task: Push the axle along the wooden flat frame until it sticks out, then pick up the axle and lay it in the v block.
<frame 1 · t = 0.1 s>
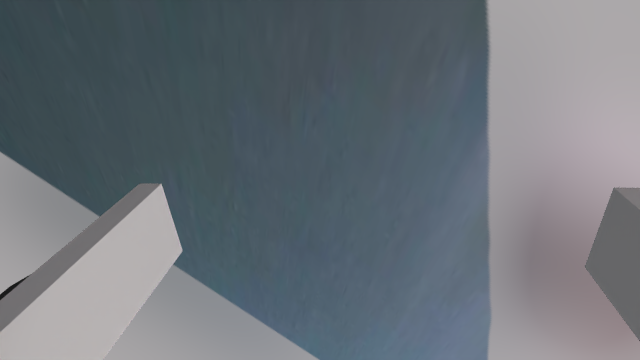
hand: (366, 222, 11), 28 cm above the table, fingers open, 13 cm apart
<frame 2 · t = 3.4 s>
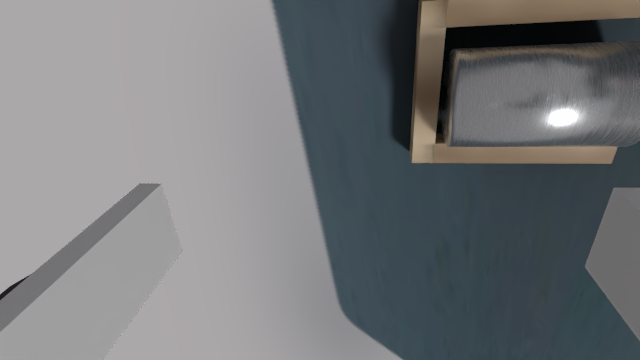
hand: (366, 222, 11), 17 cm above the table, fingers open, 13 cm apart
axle: (519, 79, 24), on the table, tilted 7°
wooden flat frame: (512, 80, 24), on the table
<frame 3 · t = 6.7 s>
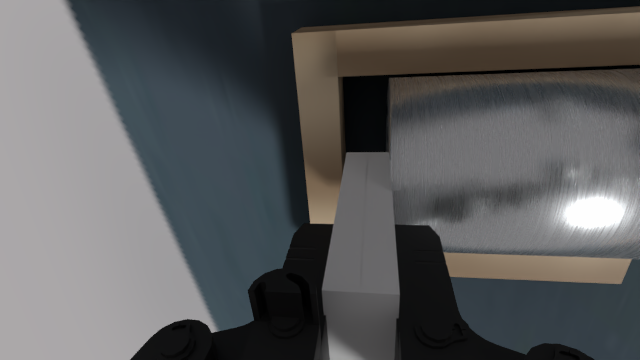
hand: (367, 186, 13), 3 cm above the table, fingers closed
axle: (507, 152, 15), on the table, tilted 16°, touching gripper
wooden flat frame: (462, 150, 15), on the table
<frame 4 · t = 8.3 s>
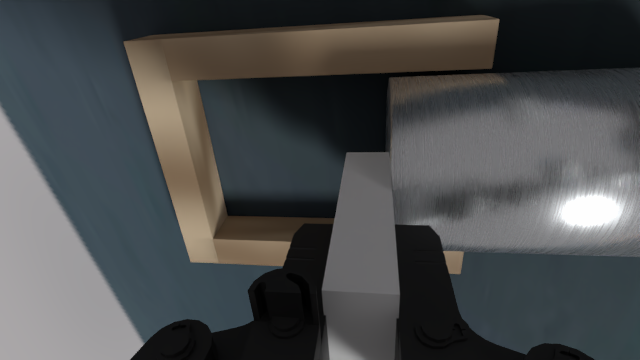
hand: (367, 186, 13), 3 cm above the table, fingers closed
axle: (506, 151, 15), on the table, tilted 16°, touching gripper
wooden flat frame: (315, 149, 16), on the table
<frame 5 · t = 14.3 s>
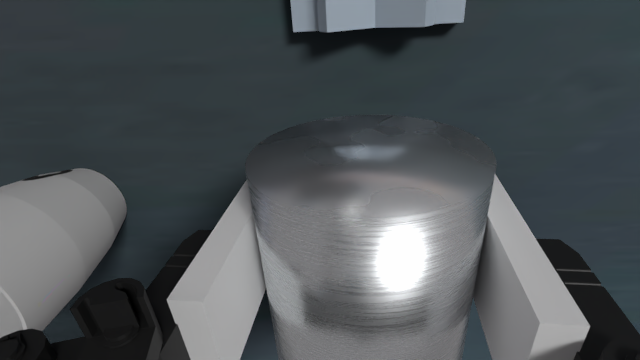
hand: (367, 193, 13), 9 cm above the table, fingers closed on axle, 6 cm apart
cup: (96, 198, 26), on the table
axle: (388, 241, 14), point 8 cm above the table, tilted 15°, touching gripper
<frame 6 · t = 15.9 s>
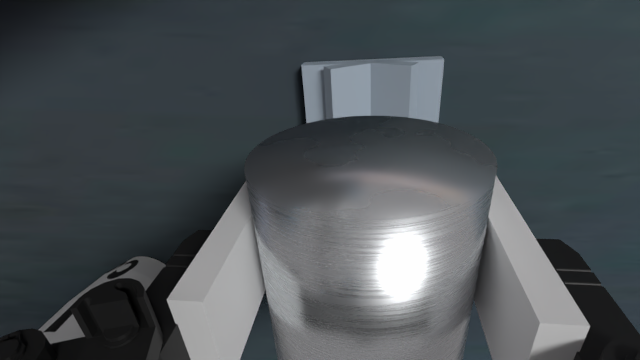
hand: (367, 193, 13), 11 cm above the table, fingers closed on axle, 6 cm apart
v block: (370, 123, 23), on the table
cup: (152, 276, 33), on the table
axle: (388, 242, 14), point 11 cm above the table, tilted 15°, touching gripper
when the fingers open (2 cm above the table, at t = 17.7 s): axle stays where it is, resting on v block.
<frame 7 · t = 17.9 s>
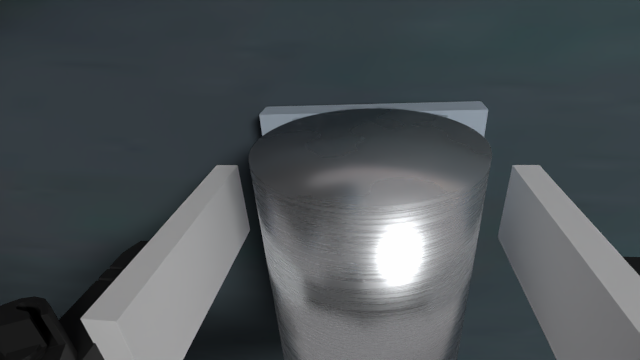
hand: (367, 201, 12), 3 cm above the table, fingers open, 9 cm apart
v block: (369, 195, 15), on the table
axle: (387, 232, 14), point 2 cm above the table, tilted 15°, touching v block
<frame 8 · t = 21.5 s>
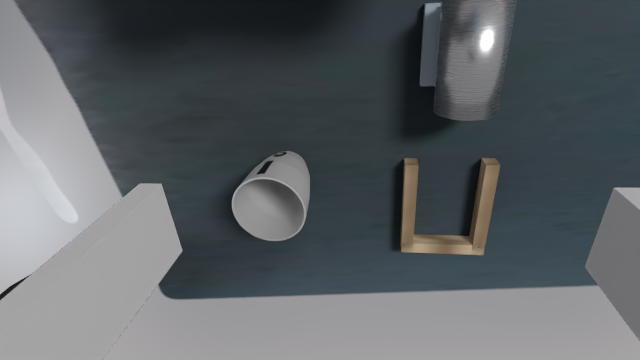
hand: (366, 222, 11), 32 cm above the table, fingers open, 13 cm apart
v block: (461, 43, 37), on the table
cup: (288, 168, 47), on the table
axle: (472, 53, 36), point 2 cm above the table, tilted 15°, touching v block
wooden flat frame: (443, 203, 46), on the table
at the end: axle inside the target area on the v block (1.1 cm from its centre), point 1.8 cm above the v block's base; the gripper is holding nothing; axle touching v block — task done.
